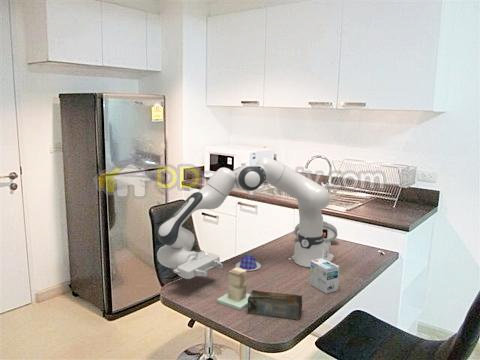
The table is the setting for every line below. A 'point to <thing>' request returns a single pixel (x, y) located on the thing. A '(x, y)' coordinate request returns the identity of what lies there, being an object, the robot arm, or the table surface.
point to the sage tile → (234, 302)
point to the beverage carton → (275, 304)
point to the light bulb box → (324, 275)
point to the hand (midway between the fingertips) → (214, 270)
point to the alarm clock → (327, 229)
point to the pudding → (248, 263)
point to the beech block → (237, 284)
